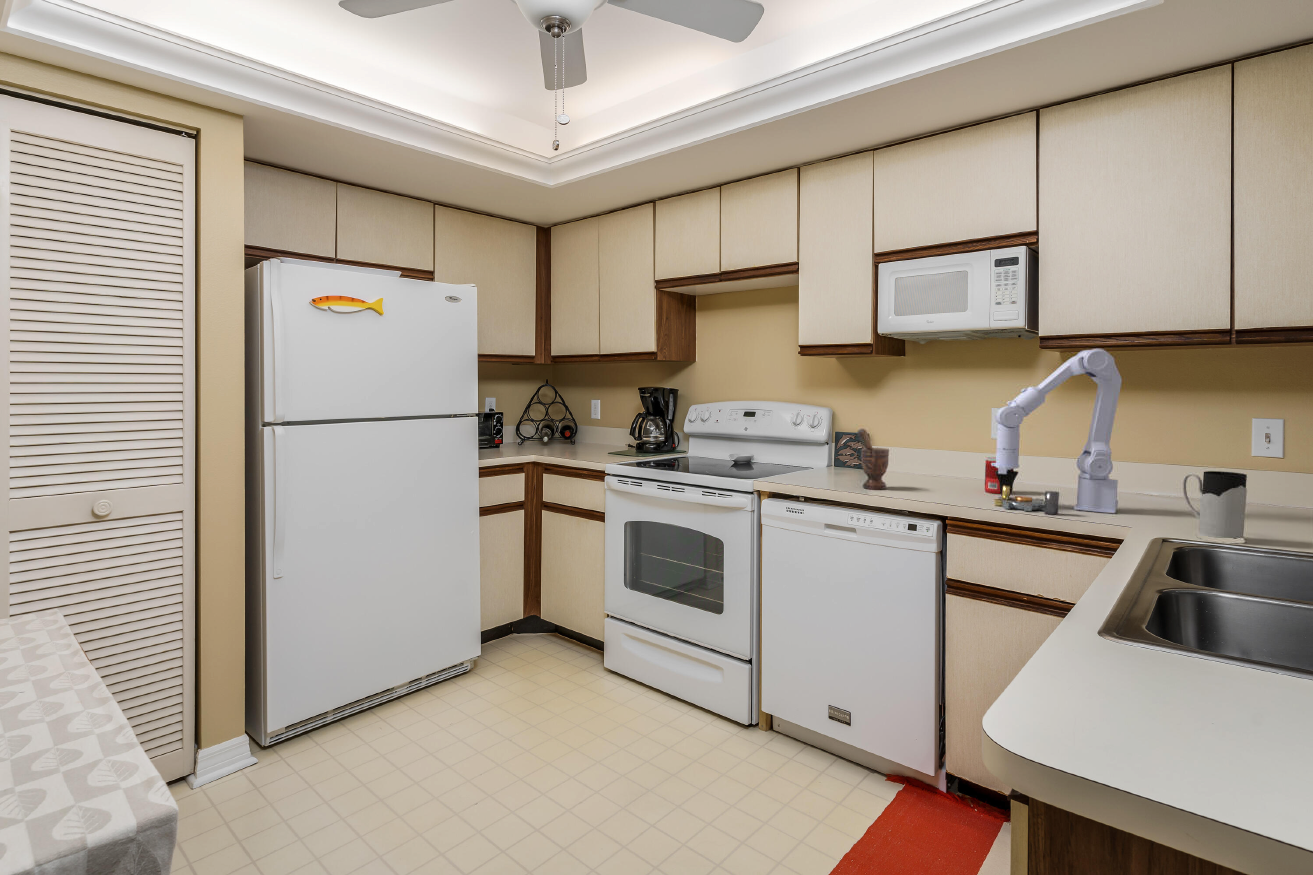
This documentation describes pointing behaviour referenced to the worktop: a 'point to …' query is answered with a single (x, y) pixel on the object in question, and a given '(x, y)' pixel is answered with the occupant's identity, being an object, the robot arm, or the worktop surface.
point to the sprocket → (1019, 501)
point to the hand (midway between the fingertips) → (1005, 496)
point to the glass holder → (1220, 504)
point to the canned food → (992, 477)
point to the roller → (1051, 502)
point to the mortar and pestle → (873, 462)
